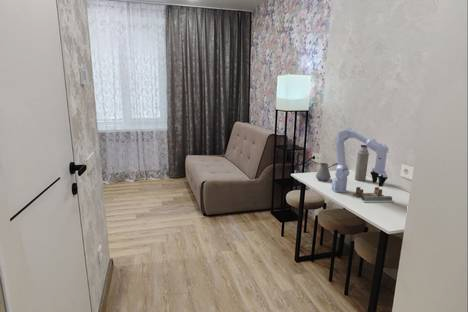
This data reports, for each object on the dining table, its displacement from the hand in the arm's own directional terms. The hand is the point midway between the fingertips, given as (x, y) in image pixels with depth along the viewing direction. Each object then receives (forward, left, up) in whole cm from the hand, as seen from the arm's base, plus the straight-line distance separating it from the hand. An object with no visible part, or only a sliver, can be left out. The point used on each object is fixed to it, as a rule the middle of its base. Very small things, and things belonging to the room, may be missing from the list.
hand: (377, 184), depth 191 cm
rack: (-1, +7, -10) cm, 12 cm away
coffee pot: (-15, +42, -11) cm, 46 cm away
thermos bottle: (+10, +41, -11) cm, 44 cm away
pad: (0, -2, -10) cm, 10 cm away
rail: (0, -2, -10) cm, 10 cm away
